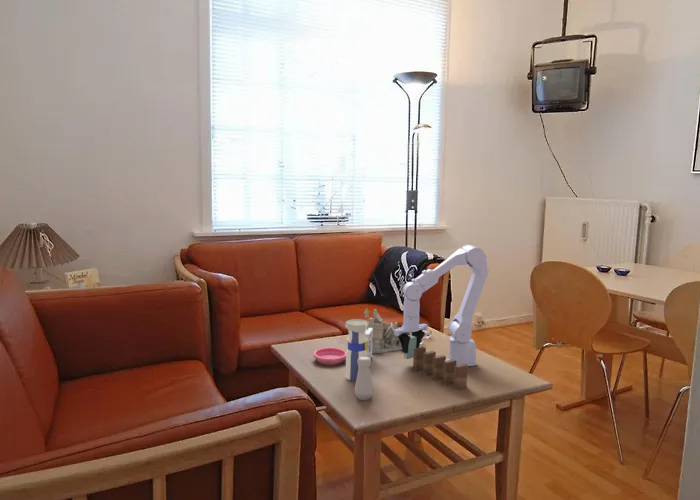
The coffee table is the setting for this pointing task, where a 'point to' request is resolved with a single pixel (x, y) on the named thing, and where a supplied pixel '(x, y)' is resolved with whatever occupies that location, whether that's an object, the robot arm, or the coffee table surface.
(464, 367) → the domino
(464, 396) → the coffee table surface
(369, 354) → the ink box
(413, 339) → the domino
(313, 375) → the coffee table surface
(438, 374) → the domino
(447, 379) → the domino
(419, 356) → the domino
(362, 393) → the salt shaker
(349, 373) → the water bottle
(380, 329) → the ceramic cottage
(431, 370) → the domino
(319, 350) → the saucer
